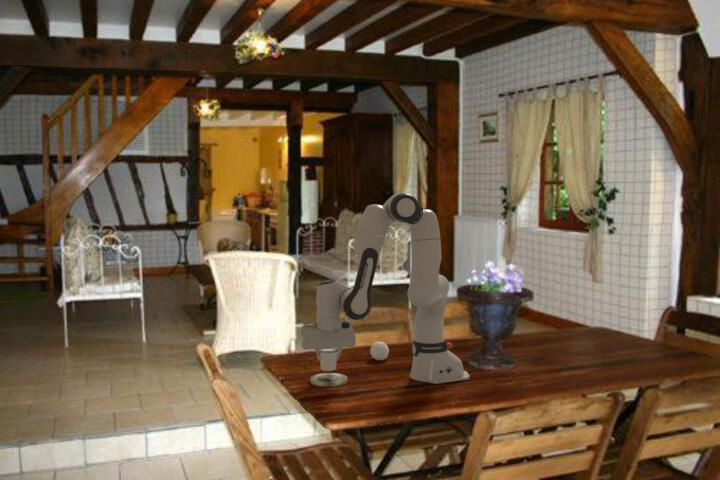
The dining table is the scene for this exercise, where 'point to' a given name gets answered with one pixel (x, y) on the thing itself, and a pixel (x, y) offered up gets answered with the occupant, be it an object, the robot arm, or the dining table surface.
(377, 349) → the geometric ball
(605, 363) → the dining table surface
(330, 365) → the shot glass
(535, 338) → the dining table surface
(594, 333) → the dining table surface
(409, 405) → the dining table surface
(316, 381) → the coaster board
